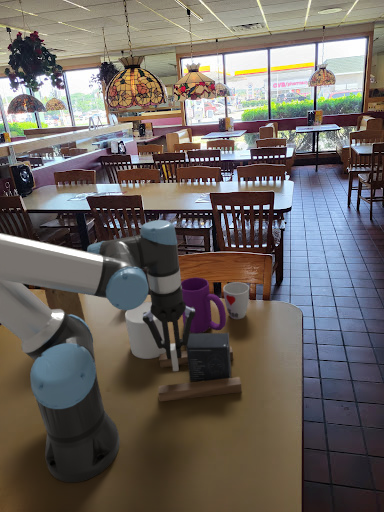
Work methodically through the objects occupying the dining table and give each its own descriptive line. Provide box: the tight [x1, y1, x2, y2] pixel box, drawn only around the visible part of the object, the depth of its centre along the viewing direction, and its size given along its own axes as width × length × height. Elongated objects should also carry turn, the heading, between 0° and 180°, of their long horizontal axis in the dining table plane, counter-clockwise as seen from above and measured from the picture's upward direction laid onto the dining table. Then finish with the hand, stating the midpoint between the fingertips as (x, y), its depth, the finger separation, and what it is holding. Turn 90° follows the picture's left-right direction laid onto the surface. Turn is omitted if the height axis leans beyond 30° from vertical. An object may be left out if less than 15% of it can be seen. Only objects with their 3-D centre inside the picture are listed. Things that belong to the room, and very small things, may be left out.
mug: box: [181, 277, 227, 334], centre depth 116 cm, size 9×16×15 cm, turn 51°
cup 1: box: [124, 301, 166, 360], centre depth 110 cm, size 12×12×12 cm
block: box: [44, 287, 86, 323], centre depth 118 cm, size 11×8×20 cm
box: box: [185, 332, 232, 382], centre depth 98 cm, size 11×7×10 cm, turn 83°
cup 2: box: [223, 281, 250, 320], centre depth 122 cm, size 8×8×10 cm
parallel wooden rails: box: [158, 345, 242, 402], centre depth 99 cm, size 15×20×2 cm
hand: (175, 367), depth 98 cm, fingers closed
